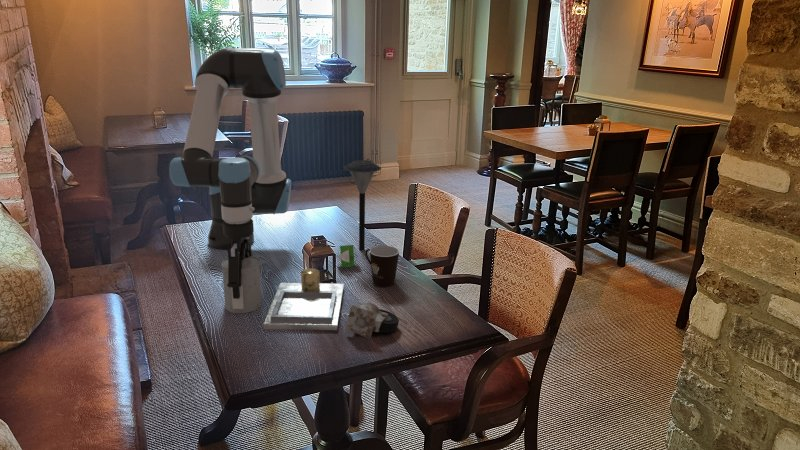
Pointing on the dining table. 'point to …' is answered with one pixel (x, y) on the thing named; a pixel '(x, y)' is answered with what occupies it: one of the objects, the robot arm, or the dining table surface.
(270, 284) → the dining table surface
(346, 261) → the geometric puzzle
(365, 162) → the solar garden light
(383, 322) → the caster wheel
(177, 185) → the robot arm
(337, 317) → the carrier plate
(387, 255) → the coffee mug
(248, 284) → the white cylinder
